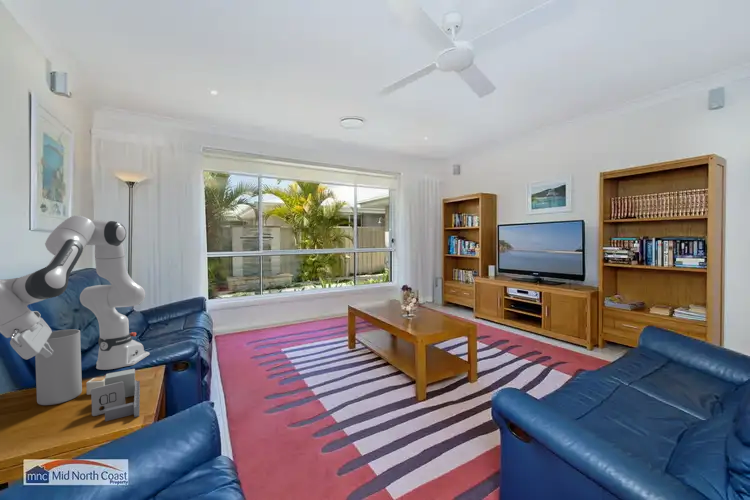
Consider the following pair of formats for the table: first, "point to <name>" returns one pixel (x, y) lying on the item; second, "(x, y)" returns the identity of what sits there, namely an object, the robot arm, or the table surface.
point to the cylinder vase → (59, 369)
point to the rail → (137, 399)
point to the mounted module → (123, 380)
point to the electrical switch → (107, 397)
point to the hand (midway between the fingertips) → (50, 355)
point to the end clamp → (119, 411)
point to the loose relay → (95, 384)
